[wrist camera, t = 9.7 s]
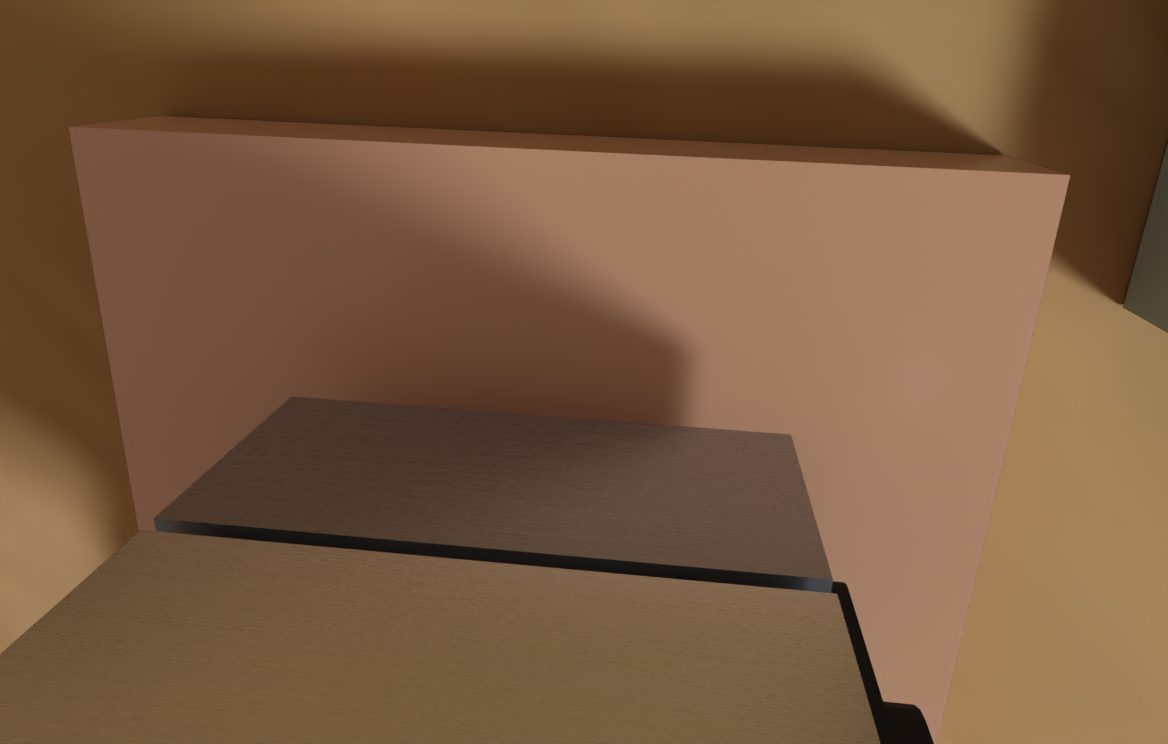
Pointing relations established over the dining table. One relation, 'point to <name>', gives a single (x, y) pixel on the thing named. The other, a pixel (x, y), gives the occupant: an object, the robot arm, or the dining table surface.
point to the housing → (457, 594)
